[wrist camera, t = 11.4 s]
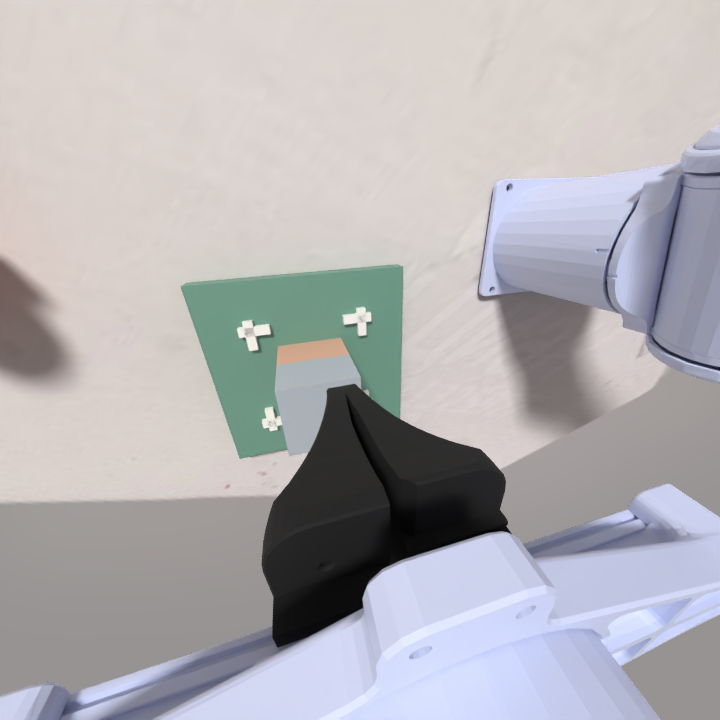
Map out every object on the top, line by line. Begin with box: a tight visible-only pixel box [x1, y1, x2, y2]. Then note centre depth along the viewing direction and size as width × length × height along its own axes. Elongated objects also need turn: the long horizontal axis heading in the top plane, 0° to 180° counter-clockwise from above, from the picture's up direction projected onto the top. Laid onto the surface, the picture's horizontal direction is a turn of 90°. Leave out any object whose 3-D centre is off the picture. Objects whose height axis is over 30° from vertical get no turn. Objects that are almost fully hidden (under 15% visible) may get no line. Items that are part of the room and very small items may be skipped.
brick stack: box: [275, 338, 361, 456], centre depth 18 cm, size 4×4×6 cm
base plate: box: [181, 265, 403, 459], centre depth 21 cm, size 14×14×2 cm
